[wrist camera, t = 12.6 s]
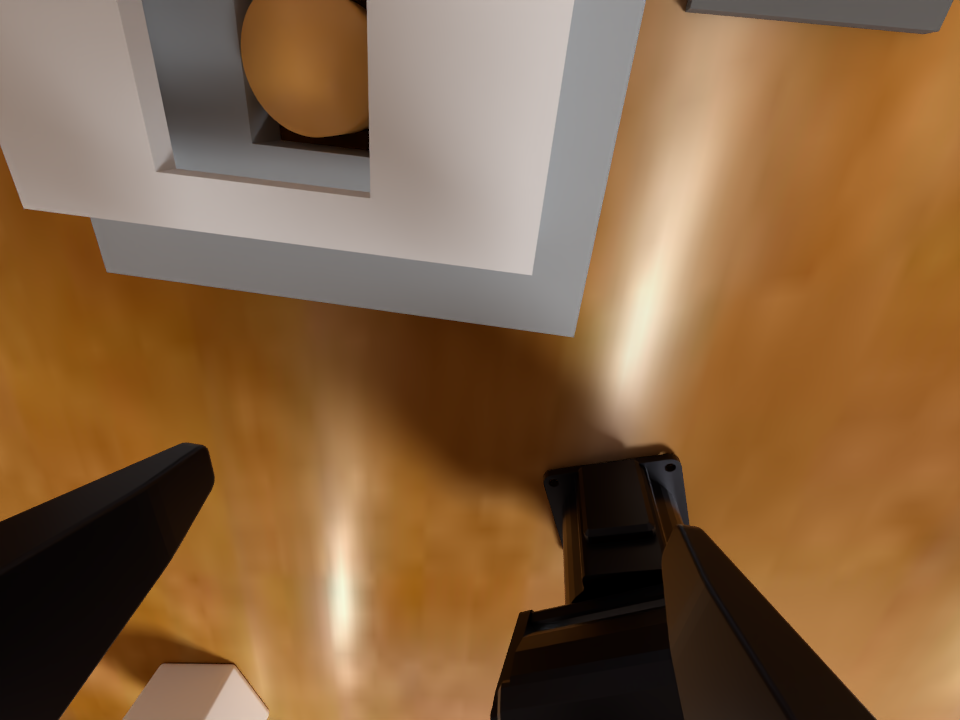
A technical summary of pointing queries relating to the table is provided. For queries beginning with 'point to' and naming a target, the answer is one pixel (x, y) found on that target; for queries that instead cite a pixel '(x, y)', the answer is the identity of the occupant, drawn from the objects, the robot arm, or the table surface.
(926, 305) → the table surface
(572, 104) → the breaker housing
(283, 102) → the button
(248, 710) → the medicine bottle
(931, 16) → the pad
